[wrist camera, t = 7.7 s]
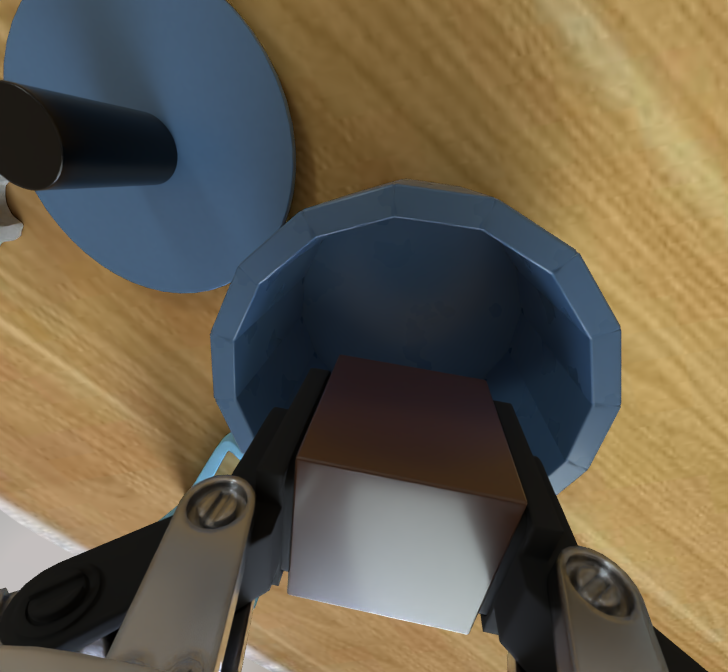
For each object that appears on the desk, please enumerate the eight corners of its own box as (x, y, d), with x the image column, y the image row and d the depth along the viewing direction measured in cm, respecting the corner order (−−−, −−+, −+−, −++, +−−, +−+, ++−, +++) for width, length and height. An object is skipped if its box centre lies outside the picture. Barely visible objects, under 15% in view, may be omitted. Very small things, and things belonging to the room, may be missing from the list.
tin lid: (-12, -56, 15) (-330, -224, 9) (309, -21, 14) (219, -182, 8) (63, 267, 21) (-95, 309, 14) (293, 306, 20) (235, 369, 14)
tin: (297, 162, 17) (198, 155, 9) (572, 202, 16) (715, 228, 8) (287, 388, 22) (219, 501, 15) (493, 426, 21) (537, 568, 14)
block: (339, 353, 10) (294, 457, 6) (486, 379, 10) (529, 503, 6) (327, 463, 12) (286, 595, 8) (452, 488, 11) (469, 636, 8)
